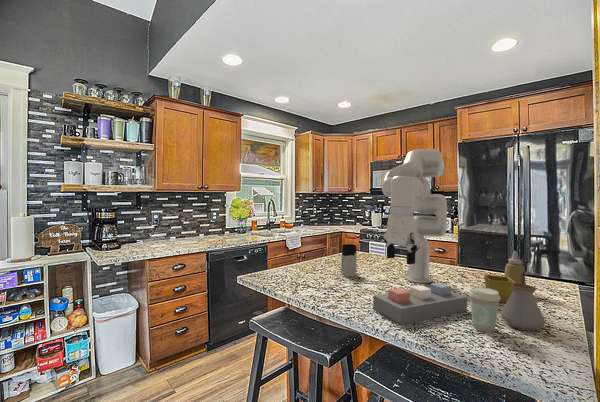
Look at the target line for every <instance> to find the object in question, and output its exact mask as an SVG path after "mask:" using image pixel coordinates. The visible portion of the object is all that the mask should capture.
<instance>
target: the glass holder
mask: <svg viewBox="0 0 600 402" xmlns="http://www.w3.org/2000/svg"><path fill="white" fill-rule="evenodd" d="M333 249H336V250H337V254H338V256H339V257H341V264H340V265H339V264H338V263H336V262H335V260H334V259H333V256H332V250H333ZM329 251H330V258H331V260H332V262H333V263H334V264H335V265H336V266H337V267H339V269H340V272H339V273H340V274H339V275H342V276H346V277H355V276H357V275H358V273H357V258H358V257H357V256H358V253H357V251H358V250H357V245H356V244H351V243H349V244H347V243H346V244H342V245H341V254H340V251H339V248H337V247H335V246H334V247H331V249H330V250H329Z"/></svg>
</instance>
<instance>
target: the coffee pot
mask: <svg viewBox="0 0 600 402" xmlns="http://www.w3.org/2000/svg"><path fill="white" fill-rule="evenodd" d="M524 271H525V270H524ZM524 271H521V273H522V274H520V272H519V274H520V275H521V284H518V283H514V284H511V286H512V288H513V292H512V294H511V295H510V297H509V299H508V301H507V302H506V303H505V304H504V306H503V307H502V309H501V310H500V315H501V318H502V319H503V320H504V322H506V324H507V325H509V326H510V327H512V328H515V329H517V330H521V331H529V332H534V331H537V330H538V329H540V328H542V327H543V326H544V325H545V323H546V320H545V319H544V316H543V313H542V312H541V309H540V307H539V305H538V303H537V301H536V299H535V296H534V294H535V292H536V291H537V289H538V288H537V287H535V286H533V285H529V284H526V285H525V282H526V276H527V275H528V273H527V272H526V271H525V274H524ZM524 276H525V277H524Z"/></svg>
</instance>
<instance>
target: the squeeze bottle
mask: <svg viewBox="0 0 600 402" xmlns="http://www.w3.org/2000/svg"><path fill="white" fill-rule="evenodd" d="M521 271H524V274H525V275H526V273H525V272H526V270H525V266H524V265H522V259H519V254H518V251H516V250H513V252H512V256H511V258H508V263H506V264H505V268H504V274H503V276H505V277H509V278H510V279H512V280H513V281H514V282H515V283H518V284H521V275H520V274H522V273H521ZM519 272H520V274H519ZM524 277H525V278H526V276H524ZM525 285H527V284H526V281H525Z"/></svg>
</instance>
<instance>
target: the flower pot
mask: <svg viewBox="0 0 600 402" xmlns="http://www.w3.org/2000/svg"><path fill="white" fill-rule="evenodd" d="M483 277H484V288H489V289H493V290H496V291H498V292H499V296H500V299H501V300H500V301H499V303H505V302H507V301H508V299H509V297H510V295H511V294H512V292H513V288H512V286H511V284H514V283H515V282H514V281H513V280H512V279H510V278H509V277H505V276H504V275H503V276H502V275H493V274H483Z"/></svg>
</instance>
